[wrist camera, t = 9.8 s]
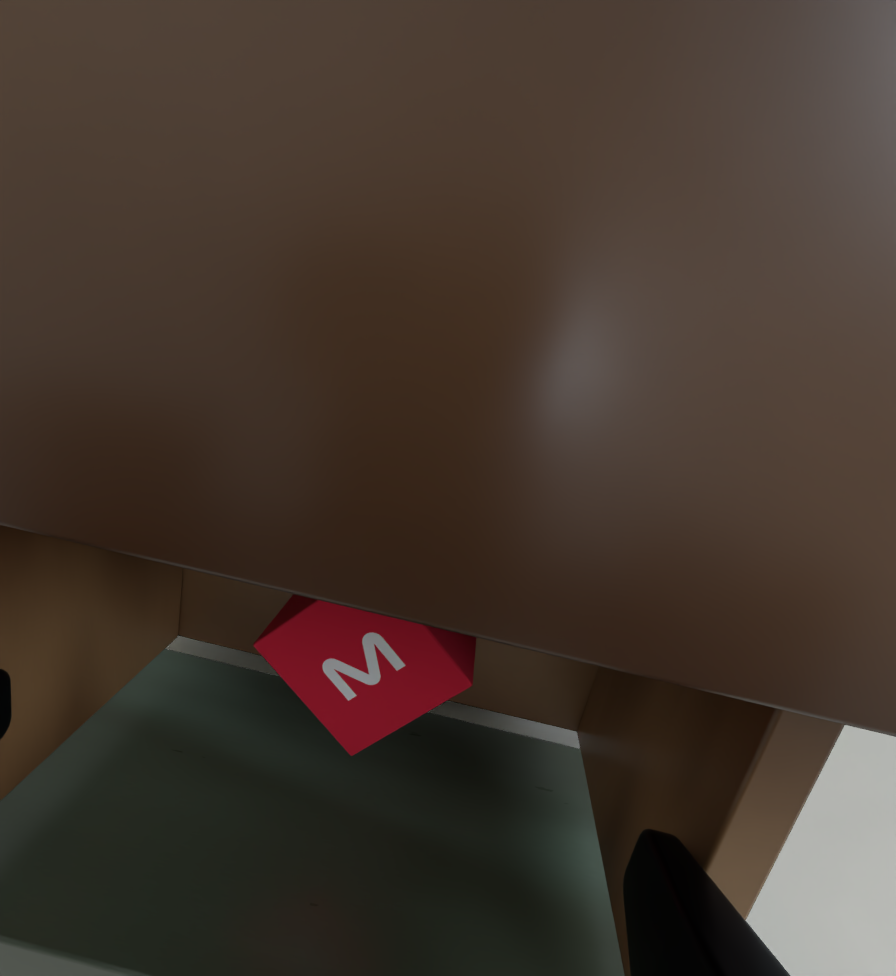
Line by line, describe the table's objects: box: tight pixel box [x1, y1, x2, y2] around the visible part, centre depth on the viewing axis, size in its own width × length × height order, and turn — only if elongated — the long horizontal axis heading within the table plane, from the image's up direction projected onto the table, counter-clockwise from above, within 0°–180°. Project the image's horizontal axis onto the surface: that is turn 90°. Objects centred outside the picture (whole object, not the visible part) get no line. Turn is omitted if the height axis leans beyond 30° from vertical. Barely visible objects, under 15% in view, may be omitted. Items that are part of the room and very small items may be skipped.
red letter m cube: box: [253, 594, 476, 756], centre depth 11 cm, size 3×3×3 cm
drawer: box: [0, 525, 845, 976], centre depth 10 cm, size 15×13×7 cm
